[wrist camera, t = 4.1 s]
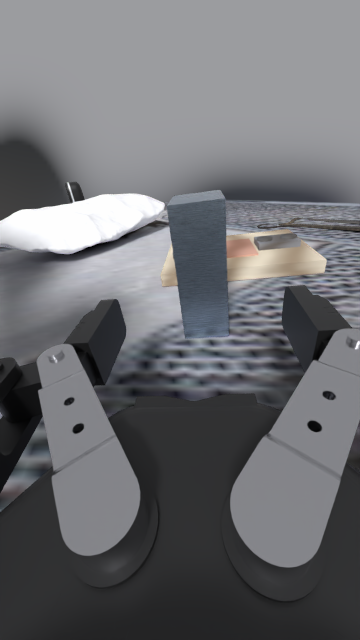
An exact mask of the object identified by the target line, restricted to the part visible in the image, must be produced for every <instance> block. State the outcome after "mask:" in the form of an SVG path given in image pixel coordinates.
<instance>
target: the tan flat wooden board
mask: <svg viewBox="0 0 360 640" xmlns="http://www.w3.org/2000/svg"><path fill="white" fill-rule="evenodd" d="M226 245H227V281H236V280H248V279H260V278H271V277H283V276H295V275H307V274H319V273H324V271H325V266H326V261H327V260H326V259H325V258H324V257H323V256H321V255H320V254H319V253H317V252H316V251H315V250H314V249H312V248H311V247H310V246H309V245H307V244H306V243H305V242H304V241H302V240H301V239H300V238H298V237H297V235H296V234H293V233H292V232H291V231H290V230H288V229H286V230H276V231H267V232H258V233H248V234H239V235H229V236H226ZM161 280H162V286H163V287H164V286H176V285H178V283H177V276H176V269H175V262H174V255H173V248H172V244H171V247H170V249H169V252H168V255H167V258H166V261H165V264H164V266H163V269H162V272H161Z"/></svg>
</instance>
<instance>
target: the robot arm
mask: <svg viewBox="0 0 360 640" xmlns="http://www.w3.org/2000/svg"><path fill="white" fill-rule="evenodd" d="M282 325H283V329H284V331H285V333H286V335H287V337H288V339H289V341H290V343H291V345H292V348H293V350H294V352H295V354H296V356H297V358H298V360H299V362H300V364H301V366H302V368H303V370H304V372H305V375H304V376H303V378H302V380H301V381H300V383H299V384H298V386H297V388H296V389H295V391H294V393H293V394H292V396H291V398H290V399H289V401H288V403H287V404H286V406H285V408H284V409H283V411H282V412H281V411H279V410H277V409H275V408H272V407H270V406H267V405H263V404H259V403H257V400H256V396H255V394H224V395H220V396H216V397H211V398H207V399H203V400H199V401H188V400H183V399H178V398H173V397H168V396H137V399H136V402H135V406H132V407H129V408H126V409H124V410H121V411H119V412H117V413H116V414H114V415H112V416H111V417H109V418H107V416H106V414H105V412H104V410H103V407H102V405H101V403H100V401H99V399H98V397H97V395H96V393H95V391H94V389H93V388H94V386H95V385H105V384H106V382H107V379H108V377H109V375H110V372H111V370H112V367H113V365H114V363H115V360H116V358H117V356H118V353H119V351H120V349H121V346H122V344H123V342H124V339H125V337H126V326H125V322H124V319H123V315H122V312H121V308H120V305H119V302H118V300H117V299H112V300H101V301H100V302H99V304H98V305H97V307H96V308H95V309H94V310H93V311H91V312H89V313H88V314H86V315H85V316H84V317H83V318H82V320H81V321H80V322H79V324H78V325H77V326H76V328H75V329H74V330H73V332H72V333H71V334H70V336H69V337H68V338H67V340H66V341H65V342H64V344H60V345H56V346H53V347H51V348H49V349H47V350H45V351H44V352H43V353H41V354H40V356H39V357H38V359H37V362H35V363H31V364H27V365H23V366H20V367H19V366H18V364H17V362H16V361H15V359H13V358H2V359H0V412H1V414H2V415H3V417H2V418H1V419H0V493H1V491H2V489H3V487H4V485H5V484H6V482H7V480H8V478H9V476H10V475H11V473H12V471H13V469H14V467H15V466H16V464H17V462H18V460H19V458H20V456H21V455H22V453H23V451H24V449H25V447H26V446H27V444H28V442H29V440H30V438H31V437H32V435H33V433H34V431H35V429H36V427H37V426H38V424H39V422H40V420H41V418H42V417H43V419H44V424H45V429H46V434H47V439H48V444H49V449H50V454H51V459H52V464H53V467H52V468H50V469H49V470H48V471H47V472H46V473H45V474H44V475H42V476H41V477H40V478H39V479H38V480H37V481H36V482H34V483H33V484H32V485H31V486H30V487H29V488H28V489H26V490H25V491H24V492H23V493H22V494H21V495H20V496H18V497H17V498H16V499H15V500H14V501H13V502H12V503H10V504H9V505H8V506H7V507H6V508H5V509H4V510H2V511H1V512H0V640H360V473H359V472H358V471H357V470H355V469H354V468H353V467H352V466H351V465H349V464H348V463H347V462H346V460H347V457H348V454H349V451H350V448H351V445H352V442H353V439H354V436H355V433H356V430H357V427H358V424H359V421H360V330H358V329H353V328H352V327H351V326H350V325H349V324H348V323H347V322H346V320H345V319H344V318H343V317H342V316H341V315H340V314H339V313H338V311H337V310H336V309H335V308H333V306H332V305H331V304H330V302H329V301H328V300H326V299H324V298H322V297H320V296H319V295H312V293H311V292H310V291H309V290H308V288H307V287H306V286H305V285H301V286H288V287H286V289H285V293H284V302H283V311H282Z"/></svg>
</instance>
